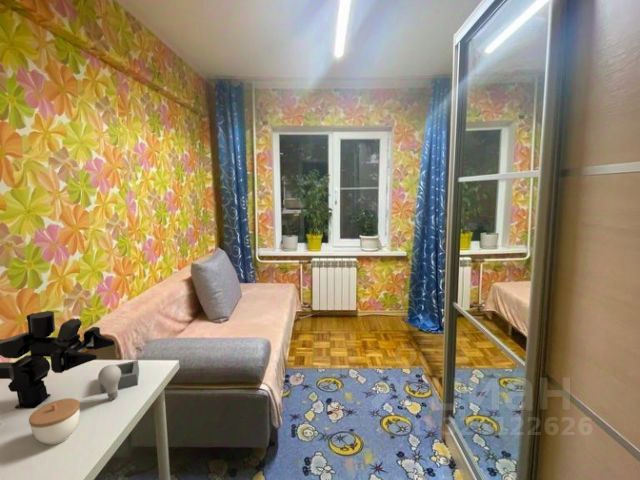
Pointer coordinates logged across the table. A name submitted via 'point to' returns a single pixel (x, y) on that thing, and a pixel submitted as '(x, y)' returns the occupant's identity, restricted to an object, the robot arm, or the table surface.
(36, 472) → the table surface
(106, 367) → the lightbulb
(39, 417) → the lidded jar
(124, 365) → the socket
